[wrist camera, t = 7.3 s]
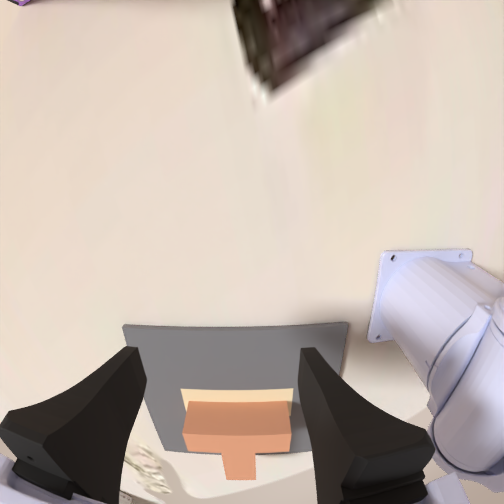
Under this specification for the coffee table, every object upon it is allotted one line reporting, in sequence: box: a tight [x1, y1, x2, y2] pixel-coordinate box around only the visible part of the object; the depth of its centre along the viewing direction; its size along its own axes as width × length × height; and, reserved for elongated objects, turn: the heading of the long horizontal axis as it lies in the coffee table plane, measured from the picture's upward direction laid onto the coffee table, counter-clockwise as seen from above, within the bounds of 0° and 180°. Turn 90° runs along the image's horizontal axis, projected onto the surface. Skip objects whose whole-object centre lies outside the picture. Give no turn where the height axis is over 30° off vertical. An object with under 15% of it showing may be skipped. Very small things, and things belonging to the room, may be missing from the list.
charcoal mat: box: [122, 322, 348, 455], centre depth 25 cm, size 18×18×1 cm
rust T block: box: [182, 401, 292, 480], centre depth 24 cm, size 9×9×4 cm
